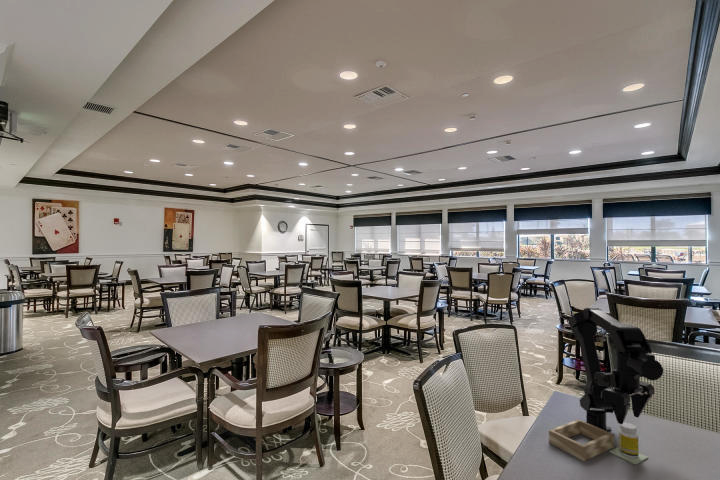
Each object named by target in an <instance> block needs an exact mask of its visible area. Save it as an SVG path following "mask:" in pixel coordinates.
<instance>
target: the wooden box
mask: <svg viewBox="0 0 720 480" xmlns="http://www.w3.org/2000/svg"><path fill="white" fill-rule="evenodd" d="M579 434H580V435H583V436H585V437H587V438H590V439H592V440H590V441H587V442H586V443H584V444H582V443H581V442H578V441H576V440H574V439H572V437H574V436H576V435H579ZM548 443H549V444H550V445H552V446H554V447H556V448H559V449H561V450H562V451H564V452H566V453H568V454H569V455H572V456H574V457H575V458H577V459H579V460H582V462H583V461H584V462H585V461H588V460H590V459H591V458H593V457H597V456H598V455H600V454H602V453H604V452H606V451H608V450H609V451H610V449H611V450H612V449H614V448H615V434H614V433H612V432H609V431H605V430H603V429H600V428H598V427H595V426H593V425H591V424H588V423H586V421H584V420H581V419H575V420H573V421H570V422H567V423H564V424H562V425H559V426H557V427H554V428H552V429H549V430H548Z"/></svg>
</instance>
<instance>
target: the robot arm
mask: <svg viewBox="0 0 720 480" xmlns="http://www.w3.org/2000/svg"><path fill="white" fill-rule="evenodd" d="M568 325H569V327H570V329H571V333H572V334H573V335H574V336H575V337H576V338H577V339H578V344H579V347H580V353H581V357H582V362H583V366H584V370H585V375H586V384H585V385H584V388H583V393H584V394H583V396H581V398H580V399H579V405H580V407H581V408H582V409H583V410H584V411H586V414H585V415H586V416H585V417H586V420H585V422H586V423H588V424H591V425H593V426H595V427H598V428H600V429H603V430H605V431H607V432H609V431H610V430H611V431H612V427H610V426H608V425H607V413H610V414H613V413H614V416H615V418H616V422H617V423H618V424H619V425H620V424H623V423H625V420H626V418H627V414H628V412H629V409H630V407H632V412H633V417H635V418H637V419H638V418H639V417H640V416H641V414H642V413H643V411H644V410H645V407H646V406H647V405H648V403H649V402H650V400H651V399H652V398H653V395H655V393H656V392H655V387H654V385H652V383H649V382H645V381H642V380H641V378H644V379H646V380H649V381H657V380H659V379H660V378H661V377H662V376H663V374H664V368H663V366H662V364H661V363H660V362H659V361H658V360H657V359H656V356H655V355H654V354H652V353H653V351H652V350H651V347H652V346H651V345H650V344H649V342H648V341H647V338H646V336H645V334H644V333H643V331H642V329H641V328H639V327H638V326H635V325H632V324H628V323H623V322H620V321H619V320H618V319H616V318H614V317H612V316H611V315H610V314H608V313H606V312H605V311H604V310H602V308H599V307H585V308H584V309H582V310H581V311H578V312H575V313H573V314H572V315H571V316H570V317H569V318H568ZM598 327H600V328H601V329H602V330H604V331H605V332H607V333H608V334H609V339H610V340H611V341H612V342H613V343H614V345H613V346H612V347H611V348H612V349H613V350H615V367H616V368H615V369H613V370H612V372H603V371H602V368H601V367H602V366H601V364H600V360H599V359H600V358H599V355H598V350H597V346H596V342H595V336H596V335H597V332H598ZM630 402H631V404H630Z"/></svg>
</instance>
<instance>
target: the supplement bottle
mask: <svg viewBox="0 0 720 480" xmlns="http://www.w3.org/2000/svg"><path fill="white" fill-rule="evenodd" d="M619 428H620V429H619V430H618V447H619V452H620V453H621V454H623V455H625V456H627V457H631V458H637V457H638V455H639V453H640V452H639V435H638V433H637V432H638V431H637V426H636V425H634V424H632V423H630V422H629V423H628V422H623V424H619Z"/></svg>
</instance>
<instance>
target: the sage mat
mask: <svg viewBox="0 0 720 480" xmlns="http://www.w3.org/2000/svg"><path fill="white" fill-rule="evenodd" d="M609 453H610V454H612V455H614V456H616V457H619V458H621V459H623V460H625V461H627V462H629V463H631V464H634V465H639V464H641V463H642V462H644V461H646V460H648V458H649V456H646V455H645V454H642V453H640V452H638V453H639V455H638V457H637V458H631V457H627V456H625V455H623V454H621V453H620V452H619V446H618V447H614V448H612V449H611V450H609Z"/></svg>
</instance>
